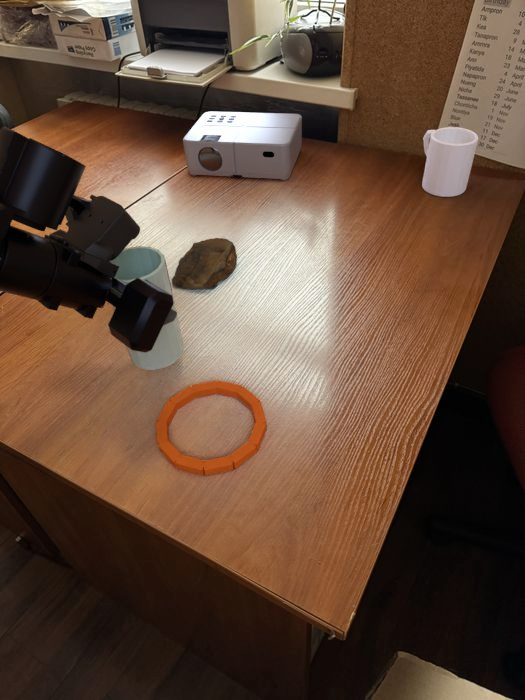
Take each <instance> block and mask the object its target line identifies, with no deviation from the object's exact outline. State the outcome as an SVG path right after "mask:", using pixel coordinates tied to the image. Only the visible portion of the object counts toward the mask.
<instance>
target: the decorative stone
mask: <svg viewBox="0 0 525 700" xmlns="http://www.w3.org/2000/svg"><path fill="white" fill-rule="evenodd" d="M236 251H237V250H236V245H235V244H234V242H233V241H231V240H230V239H227V238H225V237H215V238H208V239H204V240H200V241H196V242H193V243H192V245H191V247H190V249H188V251H186V253H185V254H184V255H183V256H182V257H181V258H180V259H179V260H178V265H177V266H176V269H175V272H174V275H173V277H172V279H171V284H172V285H173V286H175V287H176V288H180V289H186V290H205V289H206V290H210V289H211V290H213V289H215V288H216V287H217V286H218V284H219V283H220V282H223V281H225V280H226V279H227V278H229V277H230V276H231V275H232V274H233V272H234V270H236V268H237V263H238V261H237V259H238V255H237V252H236Z"/></svg>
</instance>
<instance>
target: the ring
mask: <svg viewBox="0 0 525 700" xmlns="http://www.w3.org/2000/svg"><path fill="white" fill-rule="evenodd" d="M213 395H221V396H226V397H228V398H229V397H230V398H234V399H237V400H239V401H240V402H241V403H242V404H244V405H245V406H246V407H247V408H248V409H249V410H251V412H252V417H253V420H254V425H253V428H252V431H251V434H250V435H249V438H248V440H247V441H246V442H245V443H244V444H242V445H241V446H240V447H238V448H237V449H236V450H234V452H233V451H232V453H230V454H229V455H226V456H221V457H217V458H210V459H207V460H204V459H200V458H196V457H193V456H188V455H184V454H182V453H180V451H179V449H177V448H176V447H175V446H174V445H173V444H172V443H171V441H170V435H169V434H170V433H169V426H170V424H171V422H172V421H173V419H174V417H175V416H176V413H177V412H178V410H180V409H182V408H183V407H185V406H186V405H187V404H189V403H190V402H192V401H194V400H195V399H197V398H203V397H208V396H213ZM267 428H268V426H267V419H266V415H265V411H264V408H263V404H262V401H261V400H260V399H259V398H258V397H257V396H256V395H254V394H253V393H252V392H251V391H250V390H249V389H248V388H246V387H245V386H242V384H238V383H233V382H228V381H224V380H219V379H218V380H211V381H206V382H200V383H194V384H191V385H188V386H187V387H186V388H184V389H182V390H181V391H179V392H178V393H176V394H175V395H173V396H171V397H170V398H169V400H167V401H166V403H165V405H164V406H163V408H162V410H161V411H160V413H159V415H158V416H157V418H156V421H155V431H156V444H157V447H158V449H159V452H160V453H161V454H162V455H163V456H164V457H165V458H166V459H167V460H168V462H169V463H170V464H171V465H172V466H173V467H174V468H176V470H179V471H182V472H187V473H190V474H194V475H197V476H200V477H204V476H205V477H208V476H212V475H217V474H221V473H227V472H231V471H234V470H236V469H238V468H239V467H240V466H242V465H243V464H244V463H246V462H247V461H248V460H249V459H251V458H252V457H253V456H255V455H256V454H257V453H258V451H259V450H260V447H261V445H262V443H263V441H264V437H265V435H266V432H267Z"/></svg>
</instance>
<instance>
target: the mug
mask: <svg viewBox="0 0 525 700" xmlns="http://www.w3.org/2000/svg"><path fill="white" fill-rule="evenodd" d="M422 139H423V150H424V154H425V156H426V160H425V166H424V171H423V176H422V182H421V187H422V189H423V190H424V192H426V193H428V194H430V195H433V196H436V197H443V198H450V197H457V196H460V195H462V194H464V193H465V192H466V190H467V187H468V183H469V178H470V176H471V175H470V174H471V172H472V171H471V170H472V167H473V163H474V158H475V154H476V150H477V147H478V142H479V135H478V134H477V133H476V132H475V131H473V130H471V129H468V128H464V127H456V126H447V127H441V128H437V129H428V130H427V131H426V132H425V134H424V136H423V137H422Z"/></svg>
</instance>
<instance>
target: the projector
mask: <svg viewBox="0 0 525 700" xmlns="http://www.w3.org/2000/svg"><path fill="white" fill-rule="evenodd" d="M182 143H183V150H184V156H185V162H186V163H185V164H186V168H187V170H188V173H189V174H190V175H191V176H194V177H195V176H214V177H216V176H217V177H232V178H235V179H240V178H250V179H251V178H252V179H253V178H254V179H271V180H273V179H274V180H281V181H287V180H288V179H289V178H290V177H291V175H292V172H293V170H294V167H295V165H296V162H297V160H298V157H299V155H300V153H301V150H302V145H303V116H302V115H301V114H300V113H283V112H281V113H280V112H279V113H277V112H276V113H275V112H244V111H243V112H242V111H205V112H204V113H203V114H201V116H200V117H199V118H198V120H197V121H196V122H195V123H194V125H193V126H192V127H191V129H189V131H188V132H187V133H186V134H185V136H184V137H183V138H182Z"/></svg>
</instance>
